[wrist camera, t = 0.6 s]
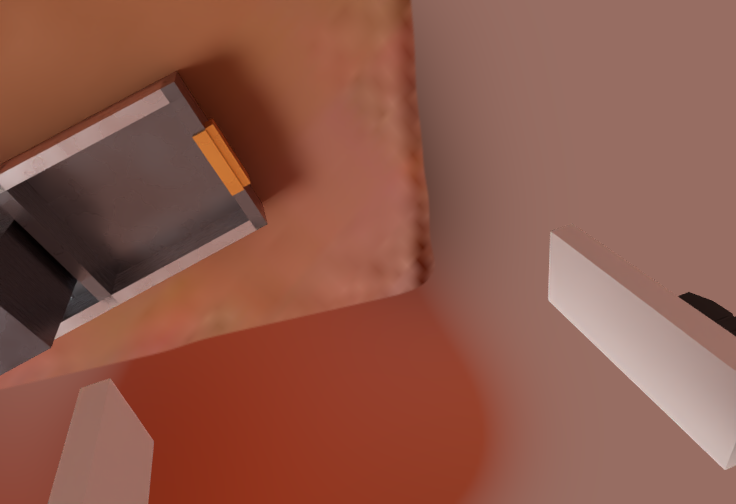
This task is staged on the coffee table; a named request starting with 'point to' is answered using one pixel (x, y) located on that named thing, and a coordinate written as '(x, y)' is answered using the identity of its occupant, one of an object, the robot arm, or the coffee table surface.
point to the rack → (113, 213)
